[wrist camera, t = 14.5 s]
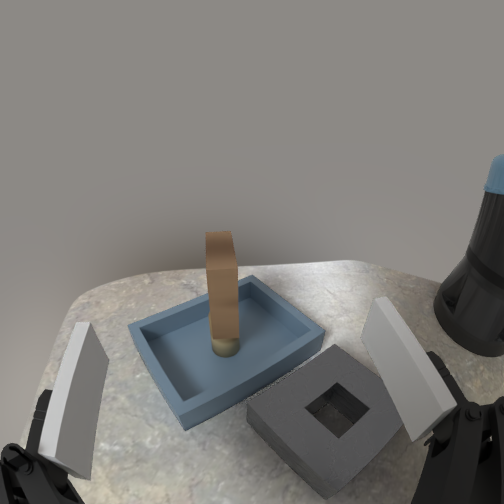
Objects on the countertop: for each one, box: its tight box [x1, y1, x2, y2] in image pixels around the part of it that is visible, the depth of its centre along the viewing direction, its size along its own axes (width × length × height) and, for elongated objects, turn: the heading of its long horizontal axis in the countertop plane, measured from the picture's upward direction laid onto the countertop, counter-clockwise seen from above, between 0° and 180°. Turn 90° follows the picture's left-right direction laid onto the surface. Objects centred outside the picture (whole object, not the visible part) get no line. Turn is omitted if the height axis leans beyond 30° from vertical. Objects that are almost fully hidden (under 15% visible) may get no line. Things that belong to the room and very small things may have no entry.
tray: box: [128, 275, 325, 431], centre depth 28 cm, size 16×12×3 cm
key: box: [206, 231, 240, 358], centre depth 26 cm, size 6×3×12 cm, turn 8°
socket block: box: [247, 344, 404, 500], centre depth 20 cm, size 10×10×4 cm
